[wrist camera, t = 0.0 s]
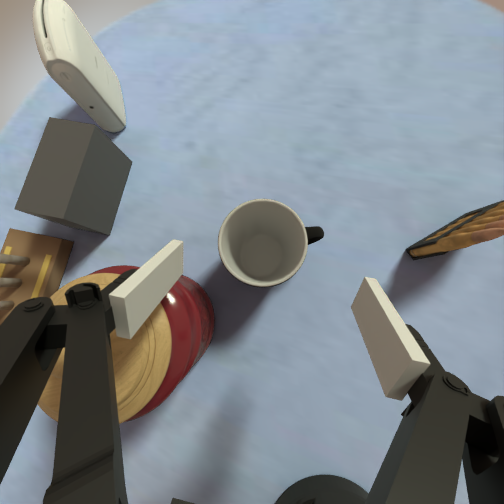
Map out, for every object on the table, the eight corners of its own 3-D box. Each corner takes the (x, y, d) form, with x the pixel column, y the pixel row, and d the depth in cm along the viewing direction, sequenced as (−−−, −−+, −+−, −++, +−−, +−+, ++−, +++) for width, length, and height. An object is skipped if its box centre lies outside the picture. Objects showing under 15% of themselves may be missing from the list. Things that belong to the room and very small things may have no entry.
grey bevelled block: (109, 235, 33) (63, 218, 25) (72, 227, 33) (14, 209, 26) (132, 161, 35) (95, 124, 27) (96, 155, 35) (49, 117, 27)
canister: (219, 274, 32) (171, 258, 14) (214, 372, 30) (150, 493, 12) (129, 272, 32) (-24, 253, 15) (118, 368, 30) (-76, 480, 13)
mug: (238, 294, 31) (229, 297, 21) (223, 234, 33) (208, 210, 23) (321, 272, 31) (350, 265, 21) (302, 213, 33) (322, 180, 23)
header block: (41, 338, 31) (-15, 352, 24) (-11, 326, 31) (-80, 336, 25) (74, 241, 33) (29, 230, 27) (24, 231, 34) (-32, 218, 27)
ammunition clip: (412, 260, 31) (507, 244, 19) (404, 249, 32) (493, 226, 20) (475, 223, 32) (603, 185, 20) (466, 212, 32) (588, 169, 20)
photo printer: (130, 130, 36) (64, 49, 24) (104, 136, 36) (24, 58, 24) (121, 77, 37) (56, -25, 25) (96, 83, 37) (18, -17, 25)
